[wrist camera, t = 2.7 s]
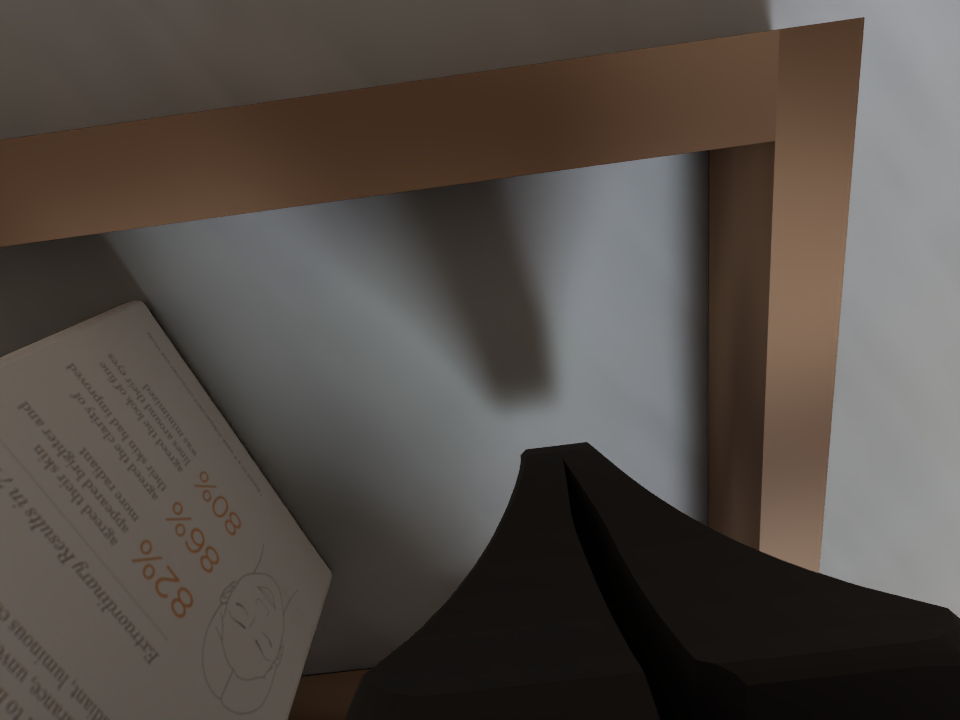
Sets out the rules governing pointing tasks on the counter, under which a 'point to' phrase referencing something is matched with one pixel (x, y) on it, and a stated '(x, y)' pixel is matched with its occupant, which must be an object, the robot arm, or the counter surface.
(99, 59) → the counter surface
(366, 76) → the counter surface
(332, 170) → the open wooden frame
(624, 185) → the counter surface
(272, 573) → the small box
